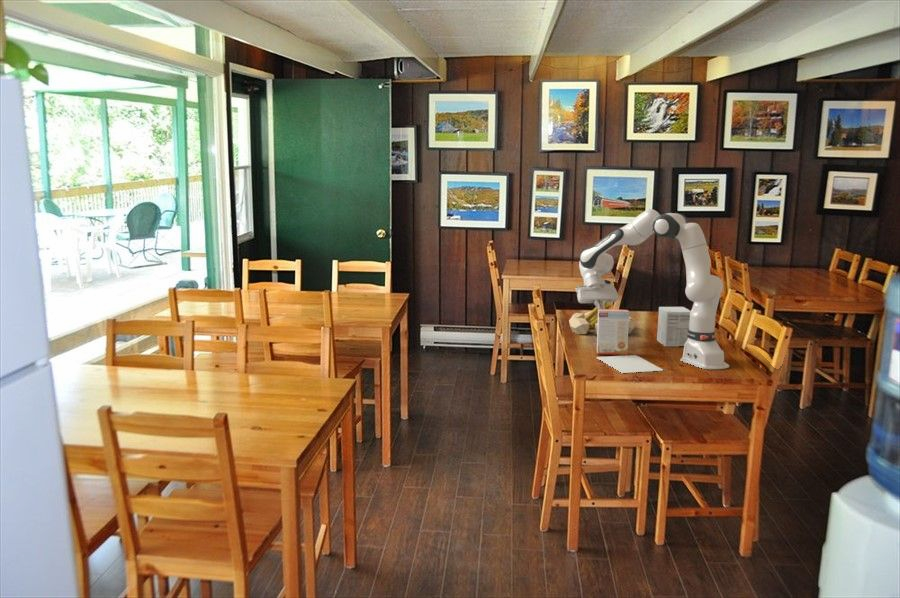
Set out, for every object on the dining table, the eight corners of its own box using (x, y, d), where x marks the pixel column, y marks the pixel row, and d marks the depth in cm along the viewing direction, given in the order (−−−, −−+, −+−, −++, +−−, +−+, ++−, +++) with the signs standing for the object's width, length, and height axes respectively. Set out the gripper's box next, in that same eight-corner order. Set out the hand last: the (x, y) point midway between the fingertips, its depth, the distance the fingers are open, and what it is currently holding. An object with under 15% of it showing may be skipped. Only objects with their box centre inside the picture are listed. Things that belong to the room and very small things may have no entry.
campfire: (641, 328, 415) (643, 297, 412) (624, 341, 385) (626, 308, 382) (579, 321, 431) (580, 291, 428) (558, 333, 401) (559, 301, 398)
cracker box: (626, 353, 362) (628, 309, 360) (627, 355, 357) (629, 311, 354) (596, 352, 364) (597, 308, 361) (597, 354, 358) (599, 310, 356)
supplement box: (691, 346, 376) (693, 312, 373) (664, 346, 376) (667, 312, 372) (681, 340, 389) (684, 306, 386) (656, 340, 389) (658, 306, 385)
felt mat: (664, 371, 334) (664, 370, 334) (622, 373, 329) (622, 372, 329) (635, 355, 358) (635, 354, 358) (596, 357, 354) (596, 357, 353)
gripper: (576, 282, 371) (583, 306, 364) (615, 281, 376) (623, 304, 369) (572, 289, 377) (579, 313, 369) (610, 288, 382) (618, 311, 374)
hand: (601, 309), depth 369 cm, fingers closed
